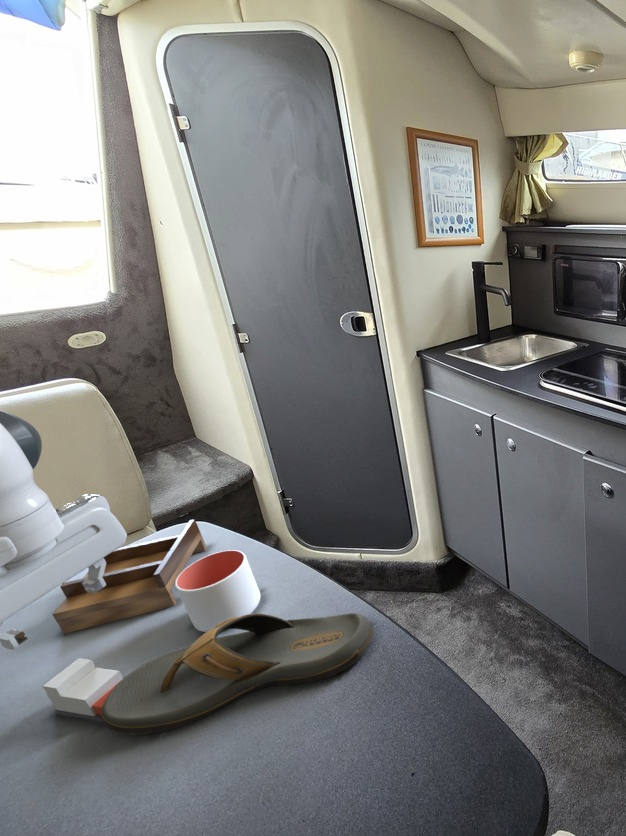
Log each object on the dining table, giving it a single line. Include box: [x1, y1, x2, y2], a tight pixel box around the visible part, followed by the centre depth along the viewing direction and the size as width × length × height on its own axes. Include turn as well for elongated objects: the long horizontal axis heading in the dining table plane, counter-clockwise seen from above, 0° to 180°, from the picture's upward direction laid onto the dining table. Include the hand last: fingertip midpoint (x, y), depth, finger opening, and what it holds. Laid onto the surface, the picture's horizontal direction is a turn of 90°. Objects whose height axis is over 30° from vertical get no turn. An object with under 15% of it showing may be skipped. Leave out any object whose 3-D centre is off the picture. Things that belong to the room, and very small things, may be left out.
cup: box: [174, 549, 261, 633], centre depth 87 cm, size 10×10×10 cm
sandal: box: [101, 612, 374, 736], centre depth 75 cm, size 14×34×9 cm, turn 104°
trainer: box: [42, 657, 124, 723], centre depth 72 cm, size 9×5×6 cm, turn 80°
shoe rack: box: [51, 518, 208, 634], centre depth 94 cm, size 16×17×8 cm
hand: (59, 615), depth 68 cm, fingers open, 8 cm apart
